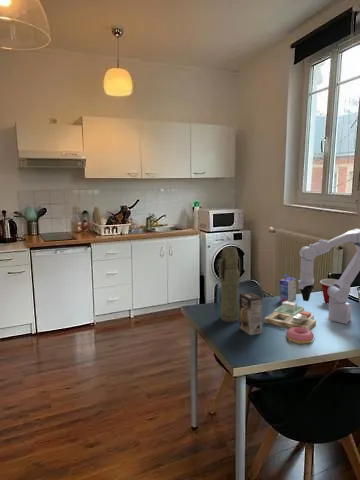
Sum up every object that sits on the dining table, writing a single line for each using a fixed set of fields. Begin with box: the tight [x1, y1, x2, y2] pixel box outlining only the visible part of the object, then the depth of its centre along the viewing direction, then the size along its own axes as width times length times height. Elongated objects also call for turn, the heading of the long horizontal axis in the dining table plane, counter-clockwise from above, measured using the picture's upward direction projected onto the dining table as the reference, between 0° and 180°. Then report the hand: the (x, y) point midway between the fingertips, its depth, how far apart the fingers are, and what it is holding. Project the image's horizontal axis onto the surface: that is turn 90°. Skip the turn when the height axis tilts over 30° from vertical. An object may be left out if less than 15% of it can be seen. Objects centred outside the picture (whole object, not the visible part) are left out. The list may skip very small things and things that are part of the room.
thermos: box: [218, 246, 241, 323], centre depth 173 cm, size 9×12×35 cm
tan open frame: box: [264, 311, 317, 331], centre depth 167 cm, size 20×11×2 cm, turn 51°
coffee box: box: [239, 292, 263, 336], centre depth 160 cm, size 9×6×16 cm
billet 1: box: [281, 301, 298, 314], centre depth 181 cm, size 4×6×5 cm, turn 51°
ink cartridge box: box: [279, 273, 297, 303], centre depth 201 cm, size 10×6×14 cm, turn 138°
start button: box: [300, 310, 312, 318], centre depth 172 cm, size 4×4×2 cm
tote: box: [273, 305, 305, 316], centre depth 181 cm, size 10×13×2 cm
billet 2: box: [293, 314, 307, 325], centre depth 164 cm, size 4×6×5 cm, turn 141°
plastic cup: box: [319, 278, 338, 305], centre depth 195 cm, size 11×11×12 cm
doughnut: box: [285, 327, 315, 345], centre depth 151 cm, size 11×11×4 cm
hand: (305, 300), depth 171 cm, fingers closed
